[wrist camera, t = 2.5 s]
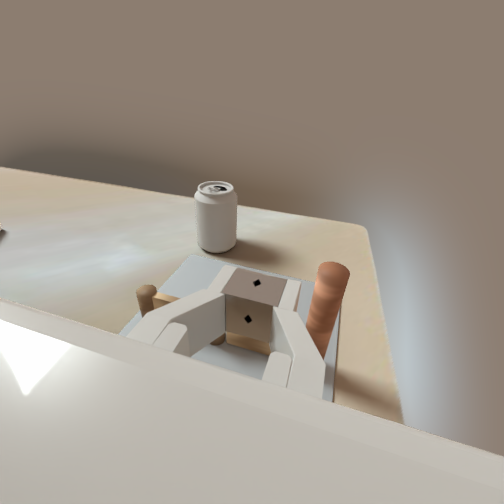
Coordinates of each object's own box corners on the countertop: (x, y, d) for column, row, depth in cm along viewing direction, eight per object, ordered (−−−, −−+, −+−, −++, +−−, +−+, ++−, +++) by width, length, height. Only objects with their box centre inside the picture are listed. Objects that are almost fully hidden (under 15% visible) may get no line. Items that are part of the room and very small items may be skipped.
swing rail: (223, 348, 35) (223, 254, 27) (231, 331, 37) (233, 240, 30) (319, 377, 32) (349, 283, 25) (322, 357, 35) (350, 265, 27)
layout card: (105, 349, 35) (105, 348, 35) (191, 254, 52) (191, 253, 52) (330, 425, 29) (330, 424, 29) (341, 289, 46) (341, 288, 46)
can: (244, 245, 56) (246, 186, 50) (215, 260, 51) (214, 198, 45) (218, 231, 60) (217, 175, 53) (189, 244, 55) (184, 185, 49)
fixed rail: (139, 322, 38) (132, 294, 35) (149, 310, 40) (143, 283, 37) (221, 347, 35) (220, 319, 33) (228, 333, 37) (228, 305, 35)
